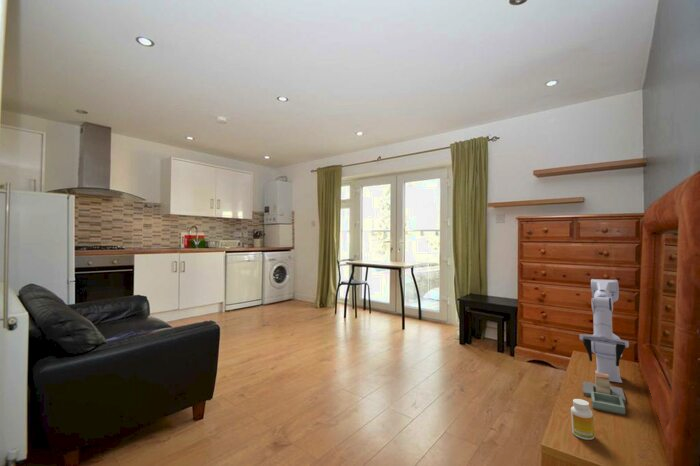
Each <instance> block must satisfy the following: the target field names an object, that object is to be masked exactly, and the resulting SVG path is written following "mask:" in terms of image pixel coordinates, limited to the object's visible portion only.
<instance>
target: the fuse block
mask: <svg viewBox="0 0 700 466" xmlns="http://www.w3.org/2000/svg"><path fill="white" fill-rule="evenodd" d="M594 379H595V380H594V381H595V382H594V383H596V390H595V392H598V393H603V394H609V395H611V392H610V386H611V384H610V382H611V381H609V375H608V374H603V373H597V372H596V371H595V372H594Z"/></svg>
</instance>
